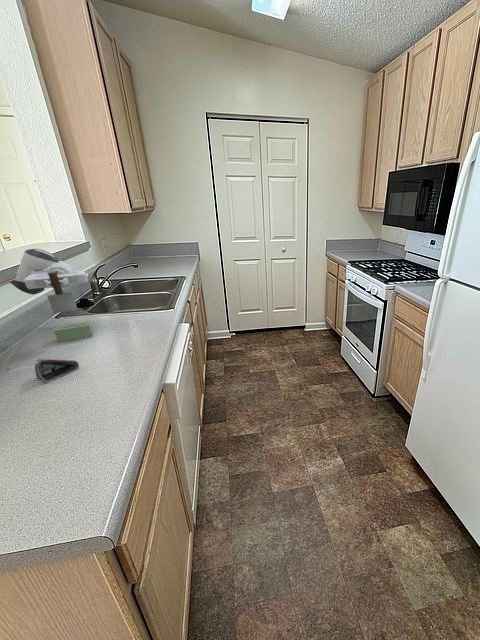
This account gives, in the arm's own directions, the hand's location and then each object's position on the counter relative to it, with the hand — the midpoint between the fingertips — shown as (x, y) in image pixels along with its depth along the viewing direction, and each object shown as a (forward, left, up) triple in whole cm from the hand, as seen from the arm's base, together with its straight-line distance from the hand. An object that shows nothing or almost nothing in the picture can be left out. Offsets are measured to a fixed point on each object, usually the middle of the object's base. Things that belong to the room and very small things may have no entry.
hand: (55, 284), depth 124 cm
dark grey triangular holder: (+18, -21, -24) cm, 37 cm away
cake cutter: (-1, +1, -11) cm, 11 cm away
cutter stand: (-2, +2, -24) cm, 24 cm away
